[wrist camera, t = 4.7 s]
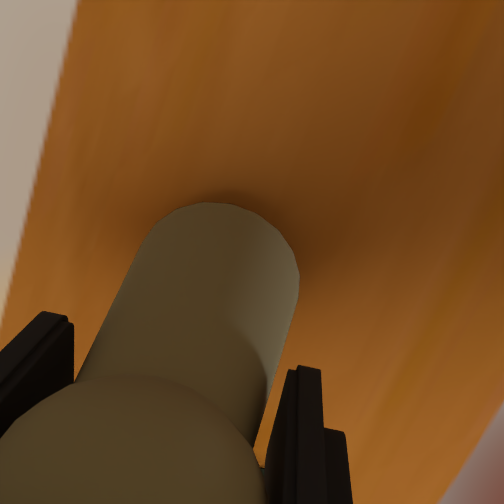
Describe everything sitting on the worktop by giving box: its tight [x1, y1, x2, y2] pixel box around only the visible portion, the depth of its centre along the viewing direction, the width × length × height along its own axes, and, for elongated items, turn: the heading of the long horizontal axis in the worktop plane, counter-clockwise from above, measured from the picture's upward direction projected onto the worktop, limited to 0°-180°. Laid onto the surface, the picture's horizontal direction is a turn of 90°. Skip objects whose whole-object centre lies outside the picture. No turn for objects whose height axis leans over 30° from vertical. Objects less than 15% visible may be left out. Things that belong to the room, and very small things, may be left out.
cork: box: [0, 202, 300, 504], centre depth 11 cm, size 6×6×11 cm
